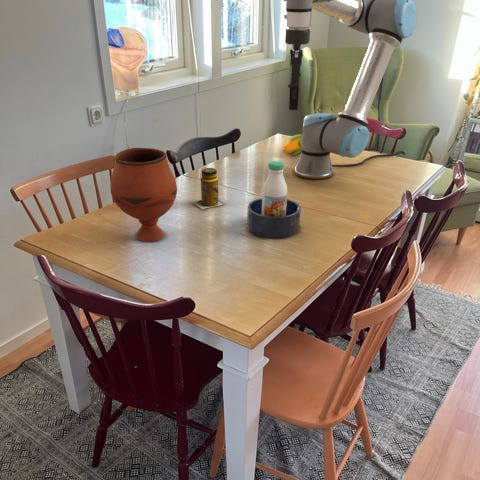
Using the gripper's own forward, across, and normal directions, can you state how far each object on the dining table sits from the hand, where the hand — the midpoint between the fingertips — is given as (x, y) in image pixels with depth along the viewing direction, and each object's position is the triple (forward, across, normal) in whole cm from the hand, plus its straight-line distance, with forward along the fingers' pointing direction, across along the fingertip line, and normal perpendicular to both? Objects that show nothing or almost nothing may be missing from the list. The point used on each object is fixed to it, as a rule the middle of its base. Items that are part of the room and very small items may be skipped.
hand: (293, 104), depth 155 cm
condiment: (+32, +10, -28) cm, 44 cm away
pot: (+31, +27, -4) cm, 41 cm away
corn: (+35, -55, +2) cm, 65 cm away
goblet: (+30, +37, -42) cm, 64 cm away
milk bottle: (+30, +27, -4) cm, 41 cm away
